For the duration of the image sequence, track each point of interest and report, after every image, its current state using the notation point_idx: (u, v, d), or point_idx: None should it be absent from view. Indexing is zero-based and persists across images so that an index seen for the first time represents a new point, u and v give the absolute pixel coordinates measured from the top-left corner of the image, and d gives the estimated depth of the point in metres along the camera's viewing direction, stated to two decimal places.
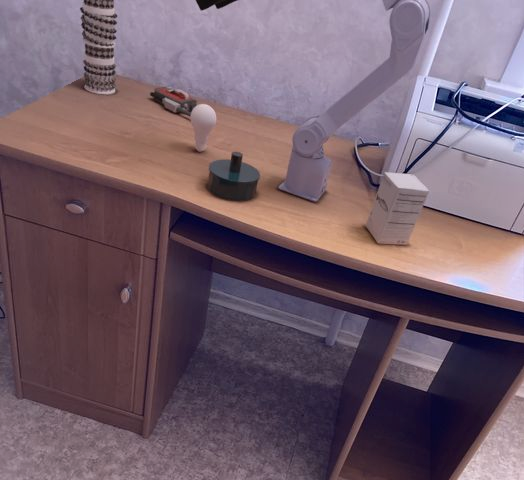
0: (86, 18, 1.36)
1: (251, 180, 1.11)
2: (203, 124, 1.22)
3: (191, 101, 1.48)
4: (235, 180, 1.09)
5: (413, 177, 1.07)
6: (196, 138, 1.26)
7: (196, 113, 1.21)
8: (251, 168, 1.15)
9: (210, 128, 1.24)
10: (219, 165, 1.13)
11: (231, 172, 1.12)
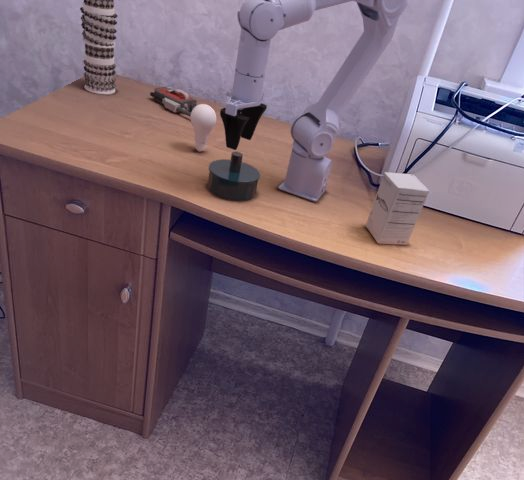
0: (86, 18, 1.36)
1: (251, 180, 1.11)
2: (203, 124, 1.22)
3: (191, 101, 1.48)
4: (235, 180, 1.09)
5: (413, 177, 1.07)
6: (196, 138, 1.26)
7: (196, 113, 1.21)
8: (251, 168, 1.15)
9: (210, 128, 1.24)
10: (219, 165, 1.13)
11: (231, 172, 1.12)
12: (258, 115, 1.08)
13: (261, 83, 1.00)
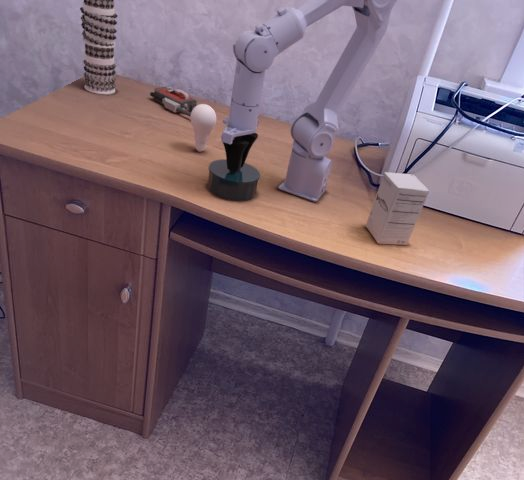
0: (86, 18, 1.36)
1: (251, 180, 1.11)
2: (203, 124, 1.22)
3: (191, 101, 1.48)
4: (235, 180, 1.09)
5: (413, 177, 1.07)
6: (196, 138, 1.26)
7: (196, 113, 1.21)
8: (251, 168, 1.15)
9: (210, 128, 1.24)
10: (219, 165, 1.13)
11: (231, 172, 1.12)
12: (249, 144, 1.10)
13: (256, 112, 1.04)
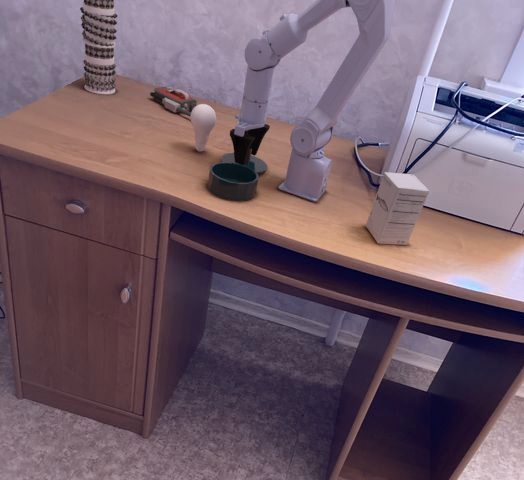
0: (86, 18, 1.36)
1: (259, 171, 1.24)
2: (203, 124, 1.22)
3: (191, 101, 1.48)
4: None
5: (413, 177, 1.07)
6: (196, 138, 1.26)
7: (196, 113, 1.21)
8: (258, 160, 1.29)
9: (210, 128, 1.24)
10: (230, 158, 1.27)
11: None
12: (262, 134, 1.25)
13: (265, 108, 1.17)
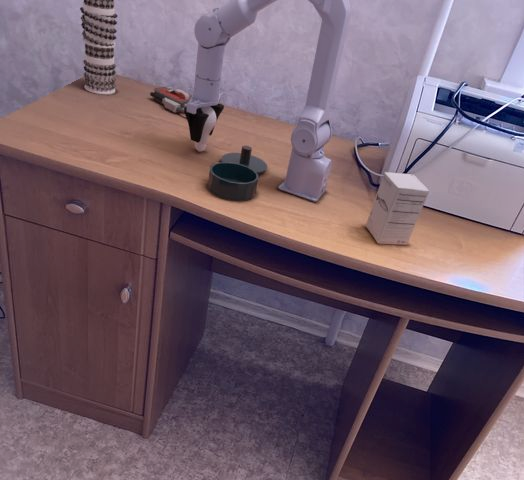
0: (86, 18, 1.36)
1: (259, 171, 1.24)
2: None
3: None
4: None
5: (413, 177, 1.07)
6: None
7: None
8: (258, 160, 1.29)
9: (210, 128, 1.24)
10: (230, 158, 1.27)
11: (241, 163, 1.25)
12: (216, 114, 1.25)
13: (217, 86, 1.18)
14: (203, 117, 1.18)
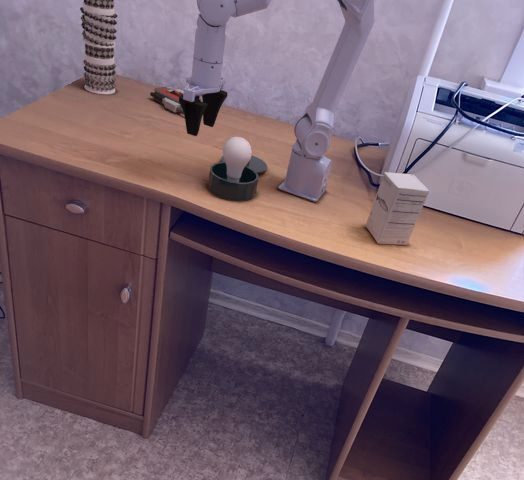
0: (86, 18, 1.36)
1: (259, 171, 1.24)
2: (237, 160, 1.09)
3: None
4: None
5: (413, 177, 1.07)
6: (228, 174, 1.12)
7: (230, 148, 1.08)
8: (258, 160, 1.29)
9: (245, 163, 1.10)
10: None
11: None
12: (219, 102, 1.10)
13: (219, 69, 1.02)
14: (201, 106, 1.02)
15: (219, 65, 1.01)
